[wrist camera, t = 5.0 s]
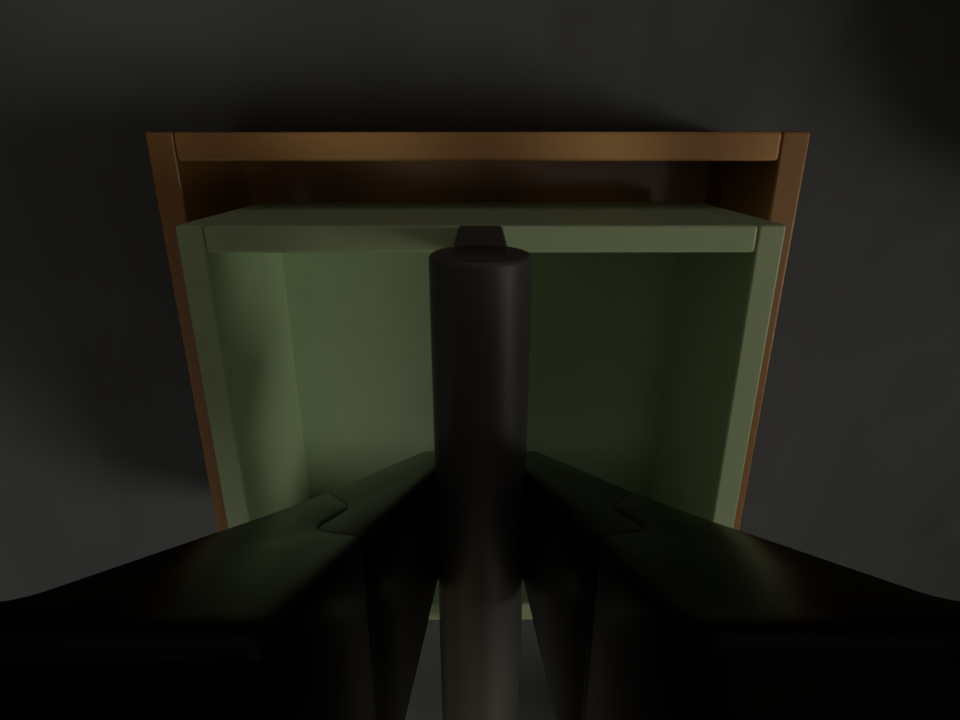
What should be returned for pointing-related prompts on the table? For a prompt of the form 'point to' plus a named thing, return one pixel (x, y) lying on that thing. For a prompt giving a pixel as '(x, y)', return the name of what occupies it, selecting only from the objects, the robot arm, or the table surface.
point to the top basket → (480, 372)
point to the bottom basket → (469, 190)
